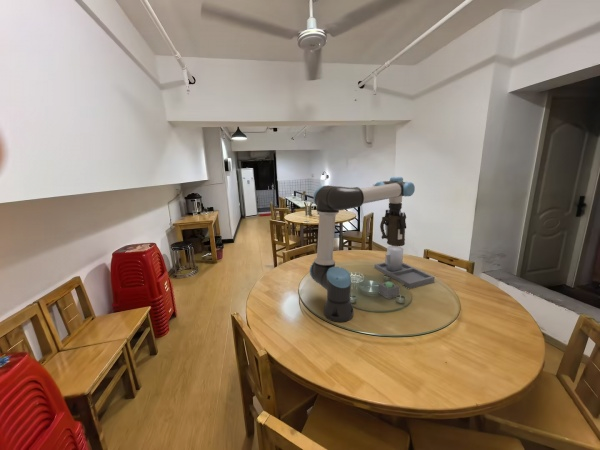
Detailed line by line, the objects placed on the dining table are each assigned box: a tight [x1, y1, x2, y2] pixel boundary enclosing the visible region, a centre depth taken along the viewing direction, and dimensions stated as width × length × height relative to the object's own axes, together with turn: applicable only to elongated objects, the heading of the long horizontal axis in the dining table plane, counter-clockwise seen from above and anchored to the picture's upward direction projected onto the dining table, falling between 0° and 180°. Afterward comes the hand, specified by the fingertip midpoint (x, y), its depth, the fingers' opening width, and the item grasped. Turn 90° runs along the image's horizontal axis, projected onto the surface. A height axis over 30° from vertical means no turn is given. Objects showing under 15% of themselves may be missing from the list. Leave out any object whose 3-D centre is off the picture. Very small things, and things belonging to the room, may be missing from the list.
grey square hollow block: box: [377, 280, 400, 300], centre depth 136 cm, size 8×8×6 cm
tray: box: [373, 261, 436, 290], centre depth 160 cm, size 32×21×4 cm, turn 21°
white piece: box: [384, 245, 404, 272], centre depth 165 cm, size 10×13×16 cm
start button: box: [385, 281, 394, 288], centre depth 136 cm, size 4×4×6 cm
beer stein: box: [379, 213, 407, 247], centre depth 148 cm, size 15×11×20 cm
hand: (393, 237), depth 149 cm, fingers closed on beer stein, 10 cm apart
